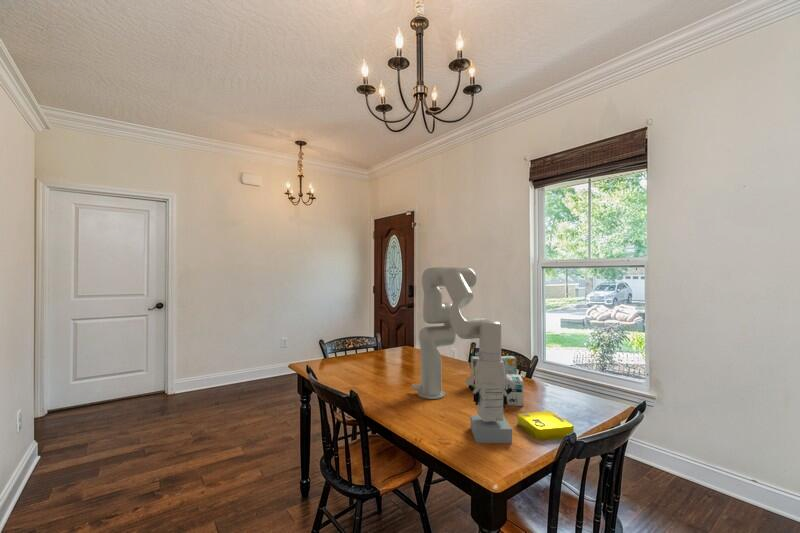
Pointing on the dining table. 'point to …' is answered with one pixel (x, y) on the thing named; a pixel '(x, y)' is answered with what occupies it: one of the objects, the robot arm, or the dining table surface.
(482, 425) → the grey block
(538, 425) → the element tile
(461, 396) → the dining table surface
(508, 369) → the snack box
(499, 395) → the supplement box
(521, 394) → the light bulb box
